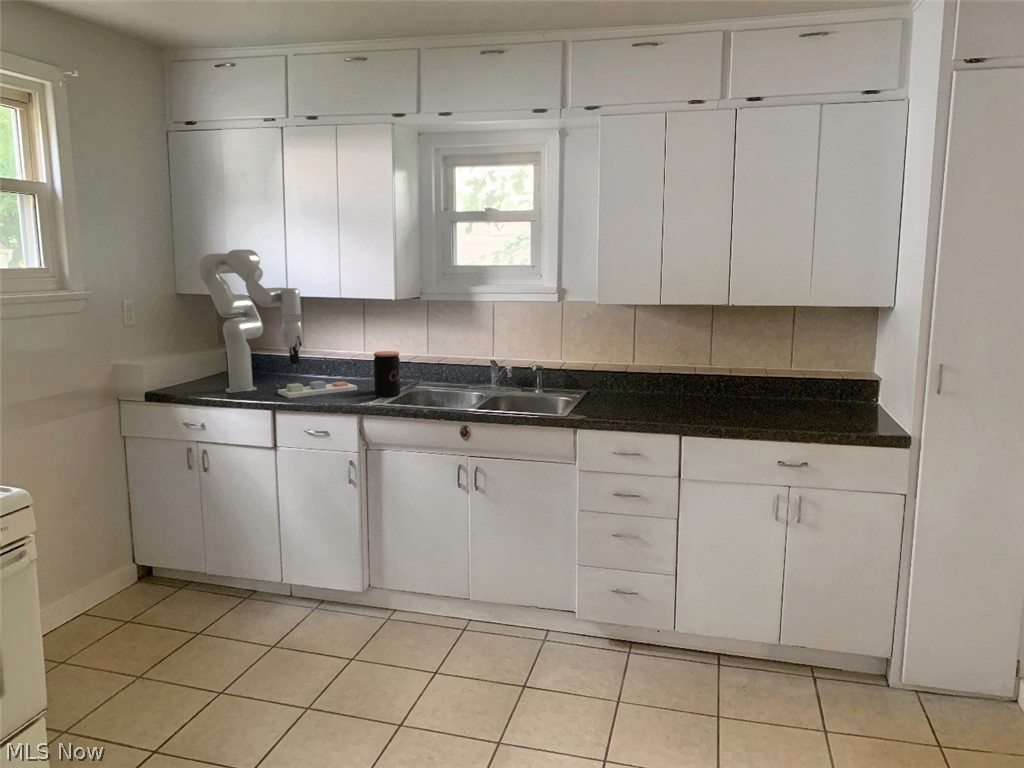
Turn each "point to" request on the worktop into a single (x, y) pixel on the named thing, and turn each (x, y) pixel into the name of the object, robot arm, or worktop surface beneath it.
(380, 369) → the coffee jar
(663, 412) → the worktop surface
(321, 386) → the slate button
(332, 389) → the button panel
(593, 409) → the worktop surface
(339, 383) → the terracotta button
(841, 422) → the worktop surface
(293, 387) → the sage button
